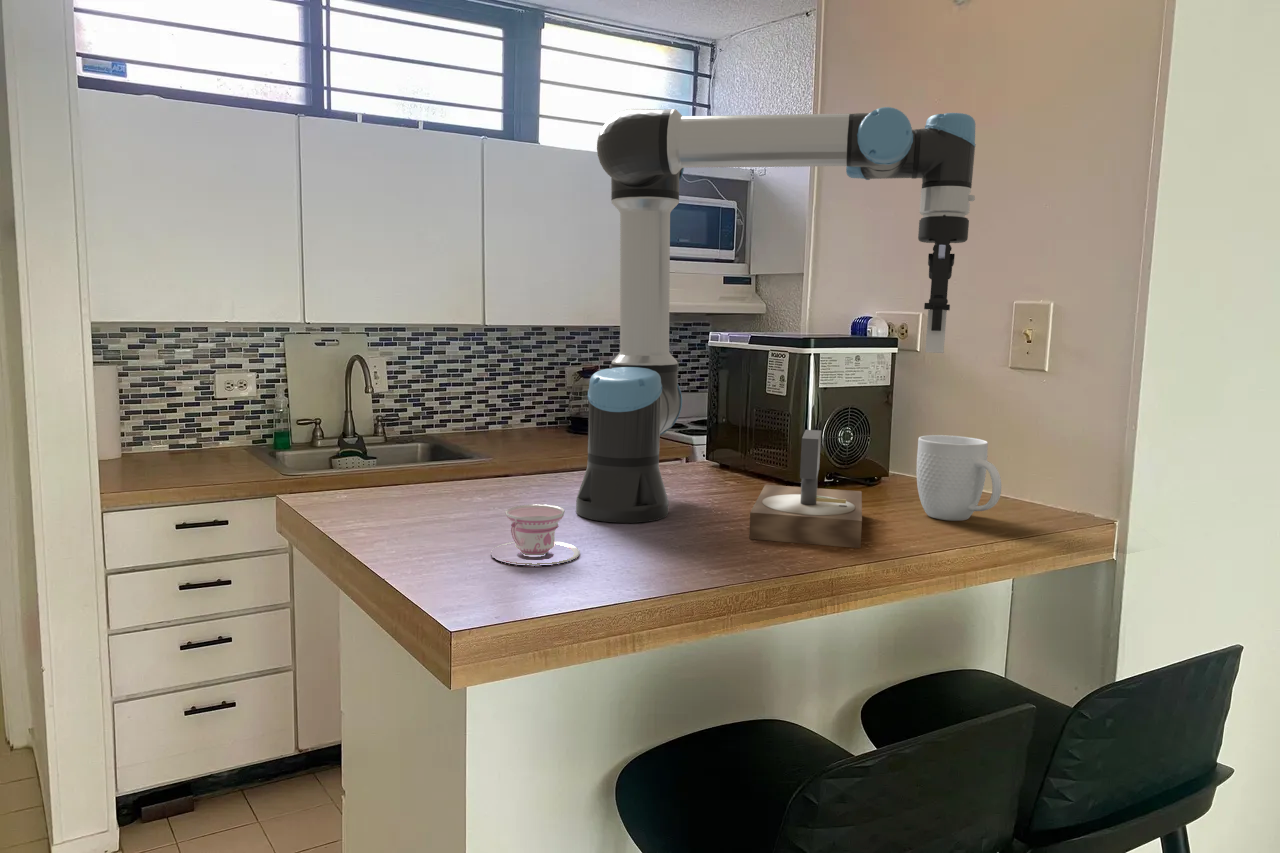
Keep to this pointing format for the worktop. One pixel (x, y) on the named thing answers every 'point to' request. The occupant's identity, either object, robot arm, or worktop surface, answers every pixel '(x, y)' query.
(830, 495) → the tuner board
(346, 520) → the worktop surface
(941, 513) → the mug
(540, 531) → the teacup
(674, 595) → the worktop surface
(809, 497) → the peg knob
